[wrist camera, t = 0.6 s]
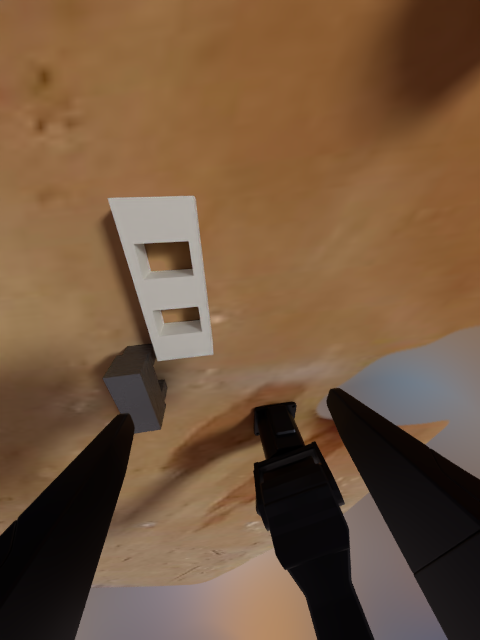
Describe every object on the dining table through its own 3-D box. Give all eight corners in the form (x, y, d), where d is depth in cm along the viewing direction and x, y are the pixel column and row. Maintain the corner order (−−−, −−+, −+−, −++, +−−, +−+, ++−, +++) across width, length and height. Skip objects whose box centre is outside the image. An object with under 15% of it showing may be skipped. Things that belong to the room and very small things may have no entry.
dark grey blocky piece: (169, 390, 25) (160, 429, 21) (144, 393, 25) (131, 434, 20) (153, 339, 21) (139, 373, 17) (124, 342, 21) (102, 378, 16)
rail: (212, 340, 22) (213, 354, 20) (162, 346, 22) (157, 361, 20) (195, 198, 16) (193, 195, 14) (121, 200, 15) (107, 198, 13)
